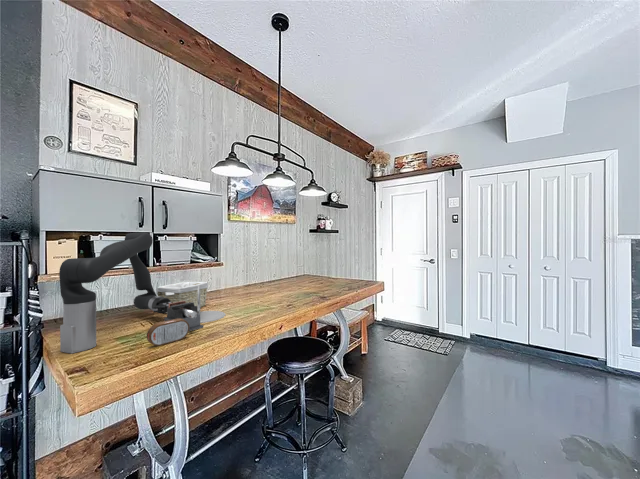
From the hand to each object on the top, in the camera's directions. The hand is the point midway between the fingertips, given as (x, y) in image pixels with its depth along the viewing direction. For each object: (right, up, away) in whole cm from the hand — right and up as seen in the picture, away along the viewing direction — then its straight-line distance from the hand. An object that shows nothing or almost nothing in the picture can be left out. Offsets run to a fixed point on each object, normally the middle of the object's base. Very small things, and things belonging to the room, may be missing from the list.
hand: (176, 309), depth 126 cm
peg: (+6, -3, -5) cm, 8 cm away
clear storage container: (-13, -9, +34) cm, 37 cm away
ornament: (+9, -8, +19) cm, 22 cm away
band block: (+4, -8, -3) cm, 10 cm away
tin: (+7, -8, -19) cm, 22 cm away
